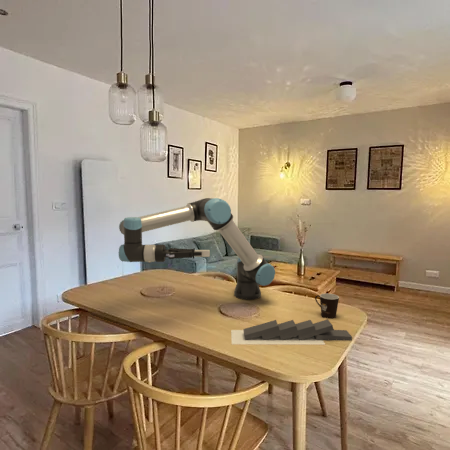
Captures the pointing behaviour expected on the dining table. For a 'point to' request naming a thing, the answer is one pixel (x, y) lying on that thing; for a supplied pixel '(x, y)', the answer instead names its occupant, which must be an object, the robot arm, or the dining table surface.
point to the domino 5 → (334, 335)
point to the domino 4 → (318, 329)
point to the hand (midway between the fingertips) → (209, 253)
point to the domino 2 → (282, 329)
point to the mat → (272, 340)
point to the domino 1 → (261, 329)
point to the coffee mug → (328, 305)
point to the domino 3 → (300, 329)
